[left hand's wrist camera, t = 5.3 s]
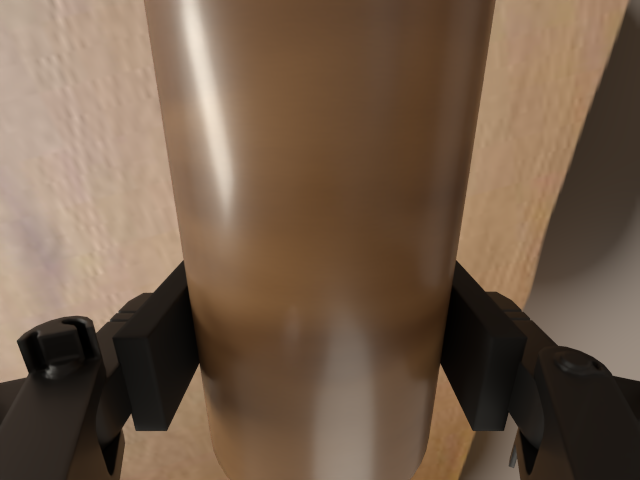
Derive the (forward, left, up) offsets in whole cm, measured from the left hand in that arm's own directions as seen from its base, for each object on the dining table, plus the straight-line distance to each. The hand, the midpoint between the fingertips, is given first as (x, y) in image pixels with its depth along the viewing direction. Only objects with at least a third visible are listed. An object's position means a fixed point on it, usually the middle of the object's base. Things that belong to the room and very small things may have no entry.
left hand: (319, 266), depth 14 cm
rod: (+10, +3, 0) cm, 10 cm away
